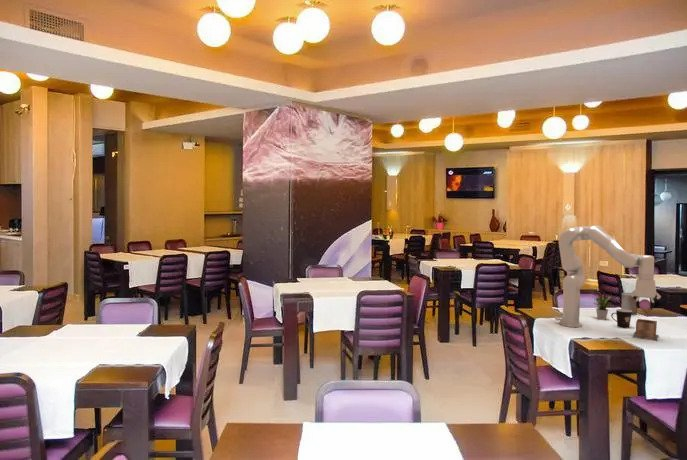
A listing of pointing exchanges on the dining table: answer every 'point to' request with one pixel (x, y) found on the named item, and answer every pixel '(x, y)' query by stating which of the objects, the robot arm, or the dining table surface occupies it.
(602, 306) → the house plant
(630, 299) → the pillar candle
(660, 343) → the dining table surface
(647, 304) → the plum ball
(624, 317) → the coffee mug
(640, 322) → the wooden cube shelf
